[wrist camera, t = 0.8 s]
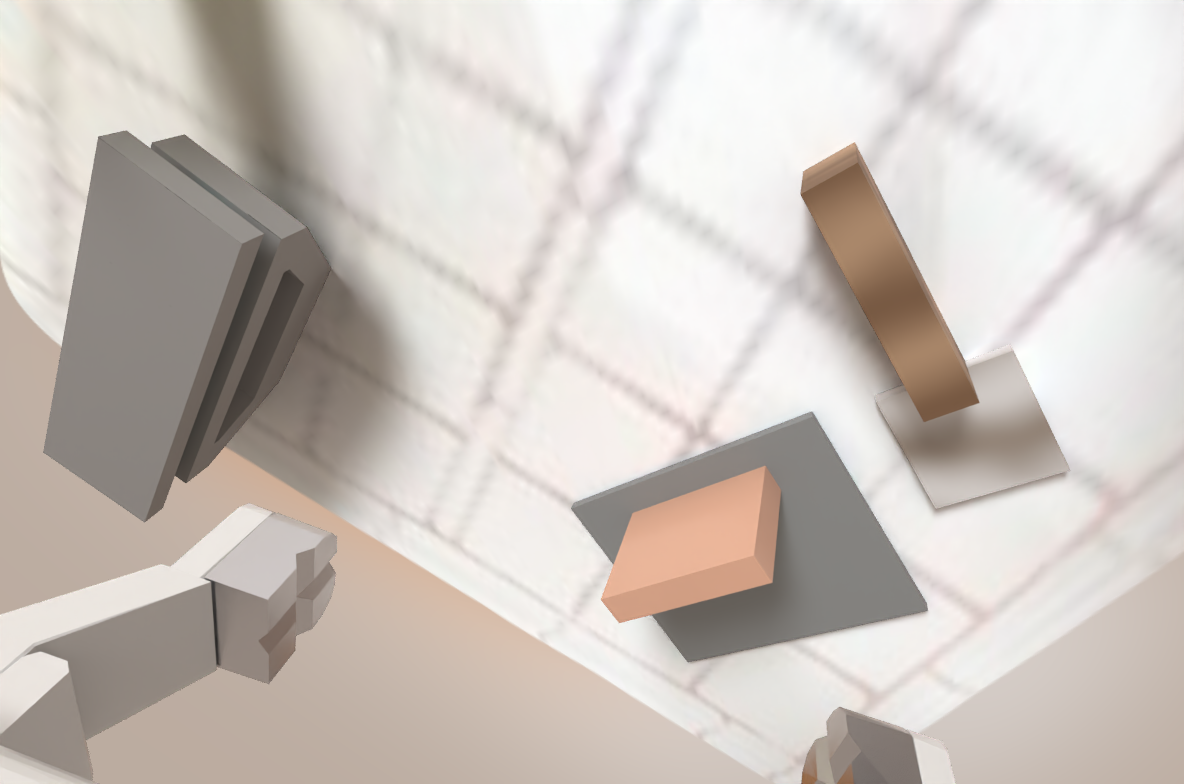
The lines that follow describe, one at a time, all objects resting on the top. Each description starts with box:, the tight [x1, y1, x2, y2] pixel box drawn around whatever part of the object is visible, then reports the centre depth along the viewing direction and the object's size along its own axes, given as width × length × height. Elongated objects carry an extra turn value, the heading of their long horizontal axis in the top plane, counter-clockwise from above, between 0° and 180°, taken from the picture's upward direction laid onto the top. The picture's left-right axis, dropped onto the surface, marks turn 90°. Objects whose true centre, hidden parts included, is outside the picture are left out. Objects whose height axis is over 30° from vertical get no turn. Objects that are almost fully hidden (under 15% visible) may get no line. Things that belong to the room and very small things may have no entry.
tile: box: [601, 466, 781, 623], centre depth 42 cm, size 10×2×8 cm, turn 124°
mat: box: [571, 412, 928, 662], centre depth 47 cm, size 18×16×1 cm
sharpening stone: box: [44, 131, 331, 522], centre depth 44 cm, size 25×8×11 cm, turn 144°
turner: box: [801, 142, 1070, 509], centre depth 35 cm, size 21×7×4 cm, turn 34°
